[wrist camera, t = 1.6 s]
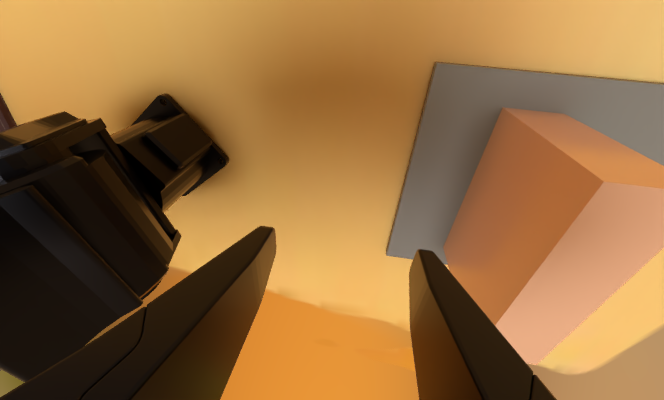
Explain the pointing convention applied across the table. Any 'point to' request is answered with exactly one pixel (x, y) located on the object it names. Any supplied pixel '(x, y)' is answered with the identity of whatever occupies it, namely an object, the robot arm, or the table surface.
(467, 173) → the mat
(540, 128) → the salmon pink block
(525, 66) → the table surface
